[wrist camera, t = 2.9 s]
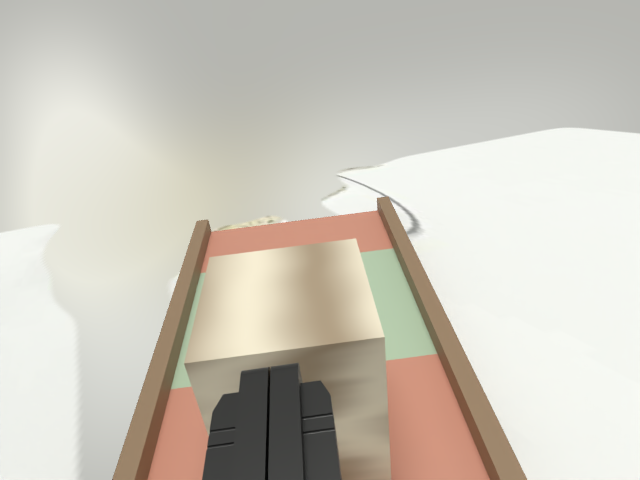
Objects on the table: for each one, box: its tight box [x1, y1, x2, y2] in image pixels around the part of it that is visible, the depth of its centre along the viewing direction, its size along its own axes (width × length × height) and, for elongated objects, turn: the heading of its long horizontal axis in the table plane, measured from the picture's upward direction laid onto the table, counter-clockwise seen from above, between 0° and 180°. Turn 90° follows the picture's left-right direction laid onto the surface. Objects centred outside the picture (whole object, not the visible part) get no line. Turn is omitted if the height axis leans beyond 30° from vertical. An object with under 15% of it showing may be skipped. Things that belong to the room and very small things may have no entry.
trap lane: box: [112, 197, 527, 480], centre depth 36 cm, size 20×34×2 cm, turn 4°
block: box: [184, 238, 391, 480], centre depth 25 cm, size 8×8×10 cm
